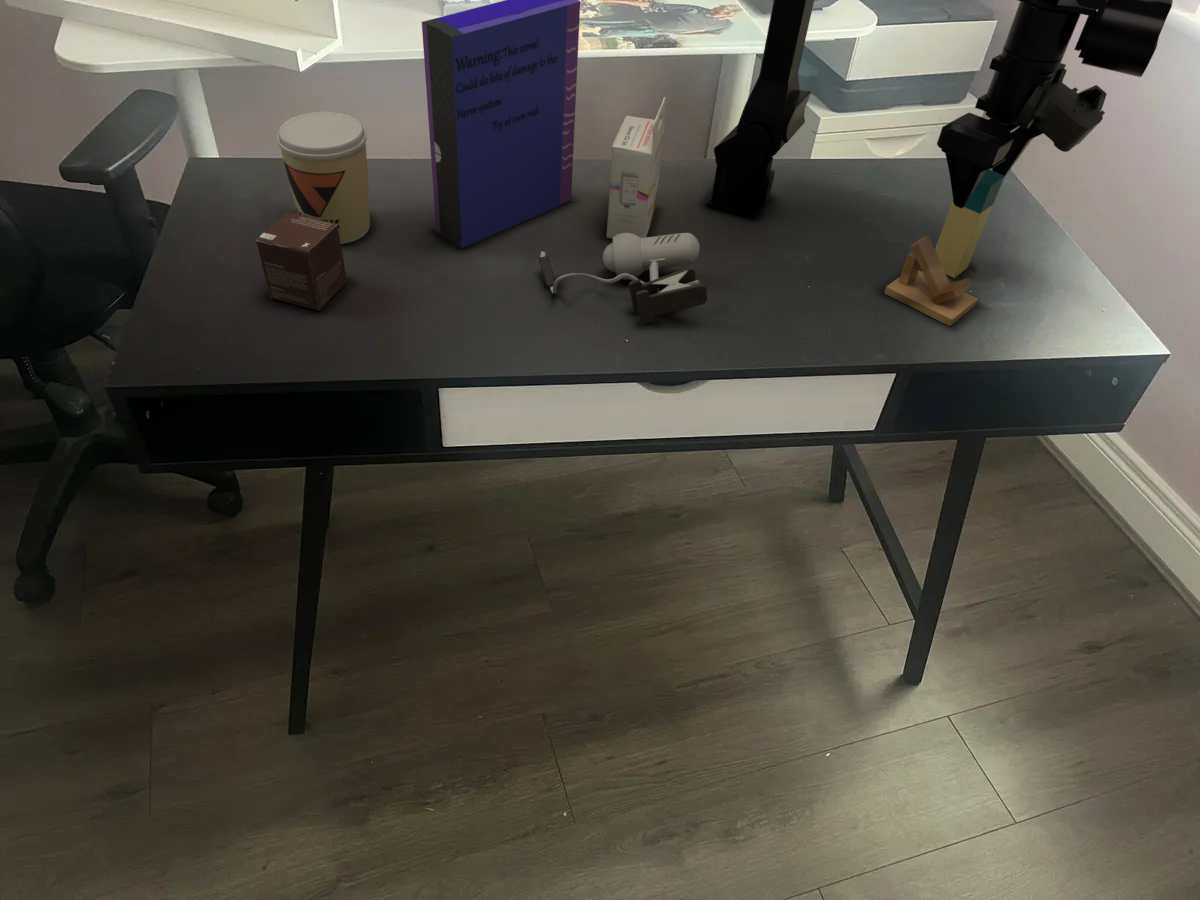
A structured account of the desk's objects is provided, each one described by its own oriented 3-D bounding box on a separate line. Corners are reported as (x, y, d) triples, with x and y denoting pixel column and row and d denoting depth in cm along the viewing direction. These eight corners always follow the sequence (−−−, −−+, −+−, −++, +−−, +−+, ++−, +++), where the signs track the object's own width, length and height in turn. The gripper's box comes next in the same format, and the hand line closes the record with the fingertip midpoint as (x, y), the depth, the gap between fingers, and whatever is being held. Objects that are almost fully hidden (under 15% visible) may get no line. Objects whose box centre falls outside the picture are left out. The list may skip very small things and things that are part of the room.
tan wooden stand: (883, 293, 104) (900, 244, 99) (910, 274, 107) (927, 225, 103) (949, 326, 100) (970, 277, 95) (975, 305, 103) (995, 257, 99)
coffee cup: (278, 236, 104) (257, 136, 96) (325, 199, 111) (309, 103, 102) (348, 256, 102) (333, 156, 94) (392, 218, 109) (381, 121, 100)
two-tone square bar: (899, 201, 107) (982, 165, 98) (914, 192, 109) (996, 156, 100) (936, 284, 109) (1021, 255, 100) (950, 273, 111) (1034, 245, 102)
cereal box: (545, 186, 116) (550, -14, 100) (571, 201, 114) (580, -1, 97) (436, 232, 107) (421, 19, 90) (462, 249, 105) (451, 34, 88)
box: (349, 283, 99) (339, 223, 94) (319, 313, 95) (307, 252, 89) (299, 270, 100) (288, 210, 95) (268, 299, 96) (254, 238, 91)
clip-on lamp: (543, 339, 98) (709, 320, 96) (530, 295, 94) (705, 273, 91) (547, 270, 106) (701, 250, 104) (535, 225, 101) (697, 204, 99)
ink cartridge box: (617, 203, 114) (627, 88, 104) (655, 210, 114) (669, 94, 104) (603, 238, 108) (612, 119, 98) (644, 245, 108) (658, 126, 98)
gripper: (1072, 103, 82) (1008, 252, 93) (1147, 54, 92) (1080, 194, 103) (961, 64, 87) (912, 209, 98) (1043, 22, 97) (990, 158, 108)
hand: (978, 193), depth 102 cm, fingers open, 9 cm apart
